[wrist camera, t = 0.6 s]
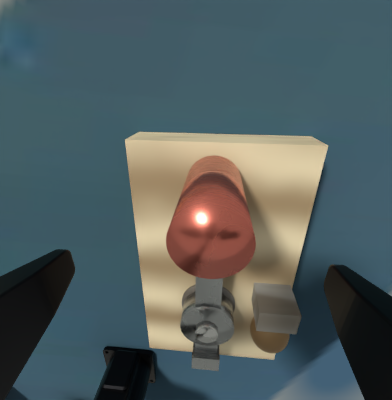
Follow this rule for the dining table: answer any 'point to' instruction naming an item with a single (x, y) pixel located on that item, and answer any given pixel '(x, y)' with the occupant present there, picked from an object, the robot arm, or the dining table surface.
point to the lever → (210, 252)
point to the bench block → (260, 217)
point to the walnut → (268, 339)
